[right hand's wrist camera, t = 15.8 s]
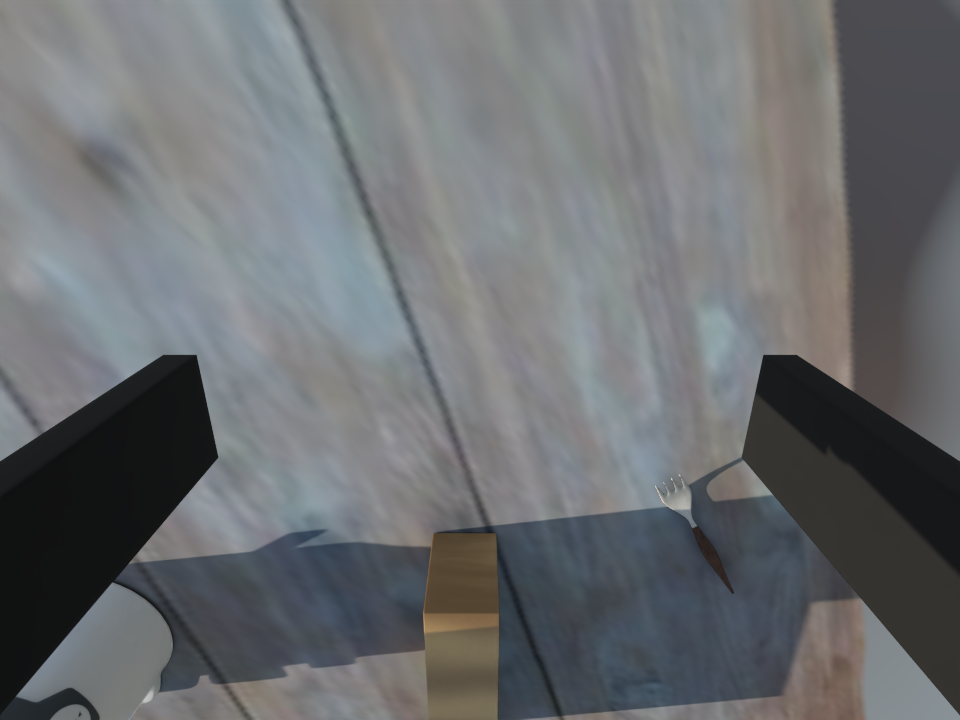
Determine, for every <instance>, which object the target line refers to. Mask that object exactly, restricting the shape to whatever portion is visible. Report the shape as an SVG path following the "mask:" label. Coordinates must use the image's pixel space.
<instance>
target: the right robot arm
mask: <svg viewBox="0 0 960 720" xmlns="http://www.w3.org/2000/svg"><path fill="white" fill-rule="evenodd" d="M217 458H218V454H217V449H216V444H215V440H214V435H213V430H212V426H211V421H210V416H209V412H208V407H207V402H206V397H205V393H204V388H203V383H202V379H201V374H200V369H199V365H198V360H197V355H163V356H161V357H160V358H158V359H156V360H155V361H153V362H152V363H150V364H149V365H147V366H146V367H144V368H143V369H141V370H140V371H138V372H137V373H135V374H133V375H132V376H130V377H129V378H127V379H126V380H124V381H123V382H121V383H120V384H118V385H117V386H115V387H114V388H112V389H110V390H109V391H107V392H106V393H104V394H103V395H101V396H100V397H98V398H97V399H95V400H94V401H92V402H91V403H89V404H88V405H86V406H84V407H83V408H81V409H80V410H78V411H77V412H75V413H74V414H72V415H71V416H69V417H68V418H66V419H65V420H63V421H61V422H60V423H58V424H57V425H55V426H54V427H52V428H51V429H49V430H48V431H46V432H45V433H43V434H42V435H40V436H38V437H37V438H35V439H34V440H32V441H31V442H29V443H28V444H26V445H25V446H23V447H22V448H20V449H19V450H17V451H16V452H14V453H12V454H11V455H9V456H8V457H6V458H5V459H3V460H2V461H0V715H1V714H2V712H3V711H4V710H5V709H6V708H7V706H8V705H9V704H10V703H11V702H12V701H13V699H14V698H15V697H16V696H17V695H18V693H19V692H20V691H21V690H22V689H23V688H24V686H25V685H26V684H27V683H28V682H29V680H30V679H31V678H32V677H33V676H34V675H35V673H36V672H37V671H38V670H39V669H40V667H41V666H42V665H43V664H44V663H45V662H46V660H47V659H48V658H49V657H50V656H51V654H52V653H53V652H54V651H55V650H56V649H57V647H58V646H59V645H60V644H61V643H62V642H63V640H64V639H65V638H66V637H67V636H68V634H69V633H70V632H71V631H72V630H73V629H74V627H75V626H76V625H77V624H78V623H79V621H80V620H81V619H82V618H83V617H84V616H85V614H86V613H87V612H88V611H89V610H90V608H91V607H92V606H93V605H94V604H95V603H96V601H97V600H98V599H99V598H100V597H101V595H102V594H103V593H104V592H105V591H106V590H107V588H108V587H109V586H110V585H111V584H112V582H113V581H114V580H115V579H116V578H117V577H118V575H119V574H120V573H121V572H122V571H123V569H124V568H125V567H126V566H127V565H128V564H129V562H130V561H131V560H132V559H133V558H134V556H135V555H136V554H137V553H138V552H139V551H140V549H141V548H142V547H143V546H144V545H145V543H146V542H147V541H148V540H149V539H150V538H151V536H152V535H153V534H154V533H155V532H156V530H157V529H158V528H159V527H160V526H161V525H162V523H163V522H164V521H165V520H166V519H167V517H168V516H169V515H170V514H171V513H172V512H173V510H174V509H175V508H176V507H177V506H178V504H179V503H180V502H181V501H182V500H183V499H184V497H185V496H186V495H187V494H188V493H189V491H190V490H191V489H192V488H193V487H194V486H195V484H196V483H197V482H198V481H199V480H200V478H201V477H202V476H203V475H204V474H205V473H206V471H207V470H208V469H209V468H210V467H211V465H212V464H213V463H214V462H215V461H216V460H217ZM742 458H743V460H744V461H745V462H746V463H747V464H748V465H749V467H750V468H751V469H752V470H753V471H754V473H755V474H756V475H757V476H758V477H759V478H760V480H761V481H762V482H763V483H764V484H765V486H766V487H767V488H768V489H769V490H770V491H771V493H772V494H773V495H774V496H775V497H776V499H777V500H778V501H779V502H780V503H781V504H782V506H783V507H784V508H785V509H786V510H787V512H788V513H789V514H790V515H791V516H792V517H793V519H794V520H795V521H796V522H797V523H798V525H799V526H800V527H801V528H802V529H803V530H804V532H805V533H806V534H807V535H808V536H809V538H810V539H811V540H812V541H813V542H814V543H815V545H816V546H817V547H818V548H819V549H820V551H821V552H822V553H823V554H824V555H825V556H826V558H827V559H828V560H829V561H830V562H831V564H832V565H833V566H834V567H835V568H836V569H837V571H838V572H839V573H840V574H841V575H842V577H843V578H844V579H845V580H846V581H847V582H848V584H849V585H850V586H851V587H852V588H853V590H854V591H855V592H856V593H857V594H858V595H859V597H860V598H861V599H862V600H863V601H864V603H865V604H866V605H867V606H868V607H869V608H870V610H871V611H872V612H873V613H874V614H875V616H876V617H877V618H878V619H879V620H880V621H881V623H882V624H883V625H884V626H885V627H886V628H887V630H888V631H889V632H890V633H891V634H892V636H893V637H894V638H895V639H896V640H897V641H898V643H899V644H900V645H901V646H902V647H903V649H904V650H905V651H906V652H907V653H908V654H909V656H910V657H911V658H912V659H913V660H914V662H915V663H916V664H917V665H918V666H919V667H920V669H921V670H922V671H923V672H924V673H925V675H926V676H927V677H928V678H929V679H930V680H931V682H932V683H933V684H934V685H935V686H936V688H937V689H938V690H939V691H940V692H941V693H942V695H943V696H944V697H945V698H946V699H947V701H948V702H949V703H950V704H951V705H952V706H953V708H954V709H955V710H956V711H957V712H958V714H959V715H960V461H958V460H957V459H955V458H954V457H952V456H951V455H949V454H948V453H946V452H944V451H943V450H941V449H940V448H938V447H937V446H935V445H934V444H932V443H931V442H929V441H928V440H926V439H925V438H923V437H921V436H920V435H918V434H917V433H915V432H914V431H912V430H911V429H909V428H908V427H906V426H905V425H903V424H902V423H900V422H898V421H897V420H895V419H894V418H892V417H891V416H889V415H888V414H886V413H885V412H883V411H882V410H880V409H879V408H877V407H876V406H874V405H872V404H871V403H869V402H868V401H866V400H865V399H863V398H862V397H860V396H859V395H857V394H856V393H854V392H853V391H851V390H850V389H848V388H846V387H845V386H843V385H842V384H840V383H839V382H837V381H836V380H834V379H833V378H831V377H830V376H828V375H827V374H825V373H823V372H822V371H820V370H819V369H817V368H816V367H814V366H813V365H811V364H810V363H808V362H807V361H805V360H804V359H802V358H800V357H799V356H797V355H763V360H762V365H761V369H760V374H759V379H758V383H757V388H756V393H755V397H754V402H753V407H752V412H751V416H750V421H749V426H748V430H747V435H746V440H745V444H744V449H743V454H742Z"/></svg>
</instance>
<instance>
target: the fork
mask: <svg viewBox="0 0 960 720" xmlns="http://www.w3.org/2000/svg"><path fill="white" fill-rule="evenodd" d="M679 476H680V479H681V482H682V487H679V486H678V485H677V484H676V482H675V481H674V480H673V479H672V478H671V479H672V483H673V485H674V488H675V490H673V491H672V490H671V489H670V488H669V487H668V486H667V485H666V484H665V483H664V482H663V483H664V486H665V488H666V490H667V494H663V493H662V491H661V490H660V489H659V488H658V487H657V486H655V487H656V489H657V491H658V493H659V495H660V497H661V500H662V502H663V503H664V504H665V505H666V506H668V507H669V508H671V509H672V510H674V511H676V512H677V513H679V514H681V515H683V516H684V517H685V518H686V519H687V520H688V521H689V523H690V525H691V527H692V530H693V532H694V535H695V537H696V540H697V542H698V544H699V547H700V549H701V551H702V553H703V555H704V557H705V558H706V560H707V561H708V562H709V564H710V565H711V566H712V567H713V569H714V570H715V571H716V572H717V574H718V575H719V576H720V578H721V579H722V580H723V582H724V583H725V585H726V586H727V587H728V589H729V590H730V591H731V593H732V594H733V593H734V592H733V589H732V587H731V585H730V583H729V580H728V578H727V576H726V573H725V571H724V569H723V566H722V564H721V561H720V559H719V556H718V554H717V552H716V550H715V549H714V547H713V546H712V544H711V543H710V542H709V540H708V539H707V538H706V536H705V535H704V534H703V532H702V531H701V530H700V529H699V527H698V526H697V525H696V523H695V522H694V520H693V519H692V515H691V505H692V493H691V489H690V487H689V486H688V485H687V483H686V482H685V480H684V479H683V478H682V476H681V475H680V474H679Z"/></svg>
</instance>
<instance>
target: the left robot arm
mask: <svg viewBox="0 0 960 720" xmlns="http://www.w3.org/2000/svg"><path fill="white" fill-rule="evenodd" d="M172 650H173V639H172V635H171V632H170V629H169V627H168V625H167V623H166V621H165V620H164V618H163V617H162V615H161V614H160V613H159V612H158V611H157V610H156V609H155V608H154V607H153V606H152V605H151V604H150V603H149V602H148V601H146V600H145V599H144V598H142V597H141V596H139V595H138V594H136V593H135V592H133V591H131V590H129V589H127V588H125V587H123V586H121V585H118V584H115V583H113V582H112V584H111V585H110V586H109V587H108V588H107V590H106V591H105V592H104V593H103V594H102V595H101V597H100V598H99V599H98V600H97V601H96V603H95V604H94V605H93V606H92V607H91V608H90V610H89V611H88V612H87V613H86V614H85V616H84V617H83V618H82V619H81V620H80V621H79V623H78V624H77V625H76V626H75V627H74V629H73V630H72V631H71V632H70V633H69V634H68V636H67V637H66V638H65V639H64V640H63V642H62V643H61V644H60V645H59V646H58V647H57V649H56V650H55V651H54V652H53V653H52V654H51V656H50V657H49V658H48V659H47V660H46V662H45V663H44V664H43V665H42V666H41V667H40V669H39V670H38V671H37V672H36V673H35V675H34V676H33V677H32V678H31V679H30V680H29V682H28V683H27V684H26V685H25V686H24V688H23V689H22V690H21V691H20V692H19V693H18V695H17V696H16V697H15V698H14V699H13V701H12V702H11V703H10V704H9V705H8V706H7V708H6V709H5V710H4V711H3V712H2V714H1V715H0V720H130V718H131V717H132V716H133V714H134V713H135V711H136V710H137V709H138V707H139V706H140V704H141V703H147V702H150V701H152V700H153V699H154V698H155V696H156V695H157V693H158V692H159V690H160V686H161V676H160V675H161V672H162V671H163V669H164V668H165V666H166V665H167V663H168V662H169V660H170V658H171V655H172Z"/></svg>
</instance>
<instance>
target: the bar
mask: <svg viewBox="0 0 960 720" xmlns="http://www.w3.org/2000/svg"><path fill="white" fill-rule="evenodd" d="M499 614H500V613H499V589H498V564H497V540H496V533H433V538H432V546H431V554H430V562H429V570H428V578H427V586H426V595H425V603H424V611H423V619H424V638H425V657H426V675H427V694H428V713H429V720H498V670H499Z"/></svg>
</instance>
